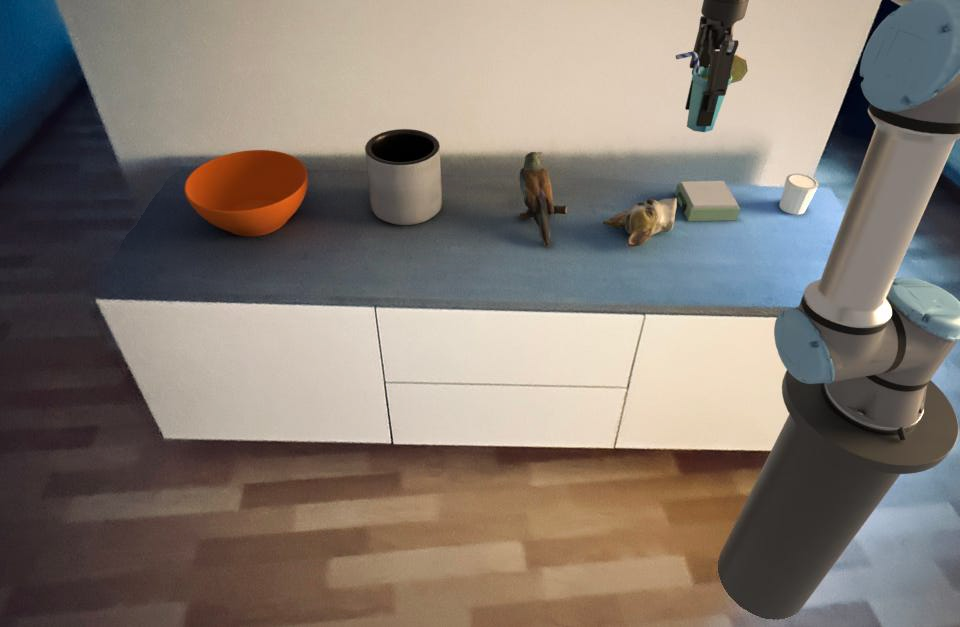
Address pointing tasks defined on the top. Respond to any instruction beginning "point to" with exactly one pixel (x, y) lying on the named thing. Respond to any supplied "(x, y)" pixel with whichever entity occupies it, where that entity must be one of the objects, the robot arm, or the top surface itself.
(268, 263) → the top surface
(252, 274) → the top surface
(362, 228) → the top surface
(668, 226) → the ceramic sculpture
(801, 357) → the robot arm
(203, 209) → the bowl
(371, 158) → the planter
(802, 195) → the shot glass
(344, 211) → the top surface
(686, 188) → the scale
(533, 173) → the bird figurine
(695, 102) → the cup
